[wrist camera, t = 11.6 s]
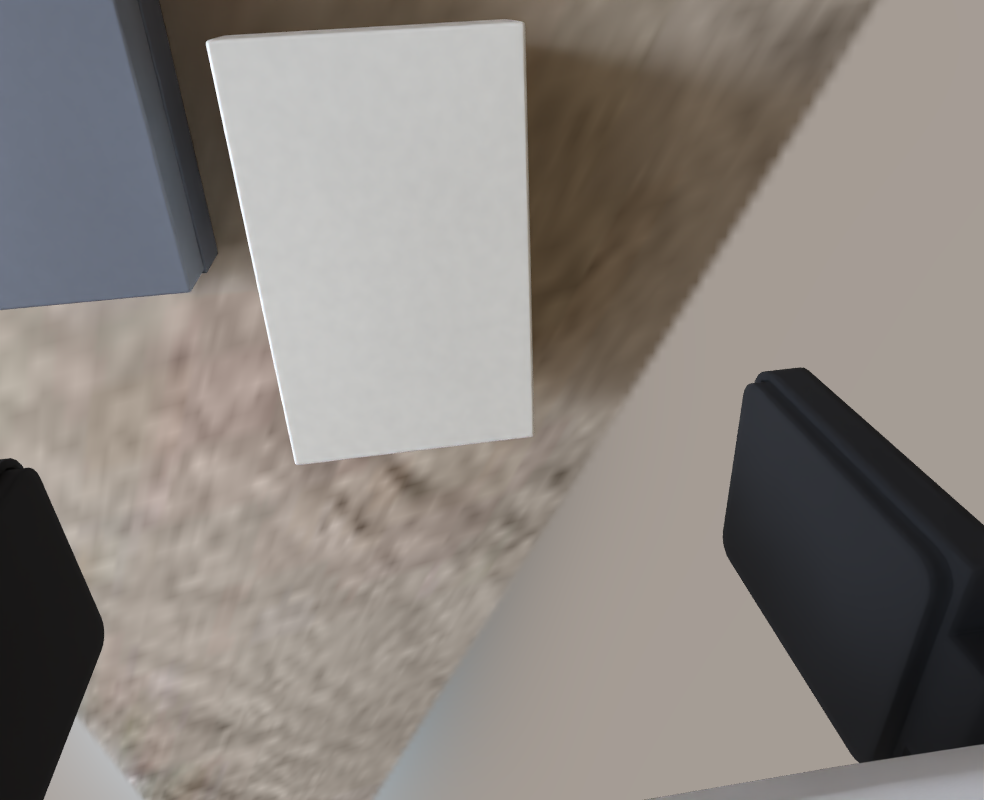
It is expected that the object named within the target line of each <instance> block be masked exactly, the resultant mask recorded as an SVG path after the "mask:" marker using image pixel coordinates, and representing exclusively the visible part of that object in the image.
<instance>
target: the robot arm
mask: <svg viewBox="0 0 984 800" xmlns="http://www.w3.org/2000/svg"><path fill="white" fill-rule="evenodd" d="M723 544H724V548H725V551H726V554H727V557H728V558H729V560H730V562H731V563H732V565H733V567H734V568H735V570H736V571H737V573H738V575H739V576H740V578H741V579H742V581H743V583H744V584H745V586H746V587H747V589H748V591H749V592H750V594H751V595H752V597H753V599H754V600H755V602H756V603H757V605H758V607H759V608H760V609H761V611H762V613H763V615H764V616H765V618H766V619H767V621H768V623H769V624H770V626H771V627H772V629H773V630H774V632H775V634H776V635H777V637H778V638H779V640H780V642H781V643H782V645H783V646H784V648H785V650H786V651H787V653H788V654H789V656H790V658H791V659H792V661H793V662H794V664H795V666H796V667H797V669H798V670H799V672H800V673H801V675H802V677H803V678H804V680H805V681H806V683H807V685H808V686H809V688H810V689H811V691H812V693H813V694H814V696H815V697H816V699H817V701H818V702H819V704H820V705H821V707H822V709H823V710H824V711H825V713H826V715H827V716H828V718H829V720H830V721H831V723H832V724H833V726H834V728H835V729H836V731H837V732H838V734H839V736H840V737H841V739H842V740H843V742H844V744H845V745H846V747H847V748H848V750H849V752H850V753H851V754H852V756H853V757H854V758H855V759H856V760H857V761H858V762H859V764H851V765H845V766H838V767H832V768H827V769H820V770H815V771H809V772H803V773H797V774H791V775H786V776H780V777H774V778H768V779H762V780H757V781H752V782H746V783H739V784H734V785H728V786H722V787H716V788H711V789H705V790H699V791H693V792H688V793H681V794H676V795H670V796H664V797H659V798H653V799H647V800H984V525H983V524H982V523H981V522H980V521H978V520H977V519H976V518H975V517H974V516H973V515H972V514H970V513H969V512H968V511H967V510H966V509H965V508H964V507H962V506H961V505H960V504H959V503H958V502H957V501H956V500H955V499H953V498H952V497H951V496H950V495H949V494H948V493H947V492H945V491H944V490H943V489H942V488H941V487H940V486H939V485H938V484H937V483H935V482H934V481H933V480H932V479H931V478H930V477H929V476H927V475H926V474H925V473H924V472H923V471H922V470H921V469H920V468H918V467H917V466H916V465H915V464H914V463H913V462H912V461H911V460H909V459H908V458H907V457H906V456H905V455H904V454H903V453H901V452H900V451H899V450H898V449H897V448H896V447H895V446H893V445H892V444H891V443H890V442H889V441H888V440H887V439H886V438H884V437H883V436H882V435H881V434H880V433H879V432H878V431H877V430H875V429H874V428H873V427H872V426H871V425H870V424H869V423H867V422H866V421H865V420H864V419H863V418H862V417H861V416H860V415H858V414H857V413H856V412H855V411H854V410H853V409H851V407H849V406H848V405H847V404H846V403H845V402H844V401H843V400H842V399H840V398H839V397H838V396H837V395H836V394H834V393H833V392H832V391H831V390H830V389H829V388H828V387H827V386H826V385H824V384H823V383H822V382H821V381H820V380H819V379H818V378H817V377H815V376H814V375H813V374H812V373H811V372H810V371H809V370H807V369H805V368H792V369H783V370H774V371H765V372H762V373H760V374H759V375H758V376H757V378H756V380H755V383H751V384H749V385H747V387H746V388H745V390H744V395H743V401H742V408H741V415H740V422H739V429H738V434H737V441H736V448H735V455H734V461H733V469H732V475H731V481H730V488H729V495H728V502H727V508H726V515H725V522H724V529H723ZM103 641H104V626H103V621H102V618H101V616H100V614H99V611H98V609H97V607H96V604H95V602H94V600H93V598H92V595H91V593H90V591H89V588H88V586H87V584H86V582H85V579H84V577H83V575H82V572H81V570H80V568H79V565H78V563H77V561H76V559H75V556H74V554H73V552H72V549H71V547H70V545H69V543H68V540H67V538H66V536H65V533H64V531H63V529H62V527H61V524H60V522H59V520H58V517H57V515H56V513H55V511H54V508H53V506H52V504H51V501H50V499H49V497H48V495H47V492H46V490H45V488H44V485H43V483H42V481H41V479H40V477H39V475H38V473H37V472H36V471H35V470H34V469H32V468H23V466H22V465H21V464H20V463H19V462H18V461H17V460H14V459H11V458H9V459H0V800H43V799H44V796H45V794H46V791H47V788H48V786H49V784H50V781H51V778H52V776H53V773H54V771H55V768H56V766H57V763H58V761H59V758H60V755H61V753H62V750H63V747H64V745H65V742H66V740H67V737H68V735H69V732H70V730H71V727H72V725H73V722H74V719H75V717H76V714H77V712H78V709H79V707H80V704H81V701H82V699H83V696H84V694H85V691H86V689H87V686H88V683H89V681H90V678H91V676H92V673H93V670H94V668H95V665H96V663H97V660H98V658H99V655H100V652H101V650H102V646H103Z"/></svg>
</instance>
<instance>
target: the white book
mask: <svg viewBox="0 0 984 800" xmlns="http://www.w3.org/2000/svg"><path fill="white" fill-rule="evenodd" d="M206 47H207V52H208V57H209V61H210V66H211V71H212V76H213V80H214V85H215V90H216V94H217V99H218V104H219V108H220V113H221V118H222V123H223V127H224V132H225V137H226V141H227V146H228V151H229V155H230V160H231V165H232V169H233V174H234V179H235V184H236V188H237V193H238V198H239V202H240V207H241V212H242V216H243V221H244V226H245V230H246V235H247V240H248V245H249V249H250V254H251V259H252V263H253V268H254V273H255V277H256V282H257V287H258V291H259V296H260V301H261V306H262V310H263V315H264V320H265V324H266V329H267V334H268V338H269V343H270V348H271V352H272V357H273V362H274V367H275V371H276V376H277V381H278V385H279V390H280V395H281V399H282V404H283V409H284V413H285V418H286V423H287V428H288V432H289V437H290V442H291V446H292V451H293V456H294V460H295V463H296V465H303V464H311V463H319V462H327V461H336V460H344V459H352V458H360V457H369V456H377V455H385V454H393V453H402V452H410V451H418V450H426V449H435V448H443V447H451V446H459V445H468V444H476V443H484V442H493V441H501V440H509V439H517V438H526V437H532V436H534V393H533V349H532V305H531V260H530V216H529V172H528V127H527V83H526V39H525V24H524V22H522V21H516V20H509V19H499V20H482V21H465V22H447V23H430V24H413V25H396V26H379V27H362V28H345V29H327V30H310V31H293V32H276V33H259V34H242V35H225V36H221V37H217V38H214V39H210V40H208V41H206Z"/></svg>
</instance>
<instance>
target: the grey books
mask: <svg viewBox="0 0 984 800" xmlns="http://www.w3.org/2000/svg"><path fill="white" fill-rule="evenodd" d="M217 254H218V251H217V247H216V242H215V238H214V234H213V230H212V225H211V221H210V217H209V212H208V208H207V204H206V200H205V195H204V191H203V187H202V183H201V178H200V174H199V170H198V166H197V161H196V157H195V153H194V149H193V144H192V140H191V136H190V132H189V127H188V123H187V119H186V114H185V110H184V106H183V102H182V97H181V93H180V89H179V85H178V80H177V76H176V72H175V68H174V63H173V59H172V55H171V51H170V46H169V42H168V38H167V34H166V29H165V25H164V21H163V16H162V12H161V8H160V4H159V0H0V310H6V309H17V308H27V307H38V306H48V305H59V304H70V303H80V302H91V301H102V300H112V299H123V298H133V297H144V296H155V295H165V294H176V293H187V292H190V291H191V290H192V289H193V287H194V285H195V284H196V282H197V280H198V279H199V277H200V275H201V274H202V273H207V272H208V270H209V268H210V266H211V265H212V263H213V261H214V259H215V258H216V256H217Z"/></svg>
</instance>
